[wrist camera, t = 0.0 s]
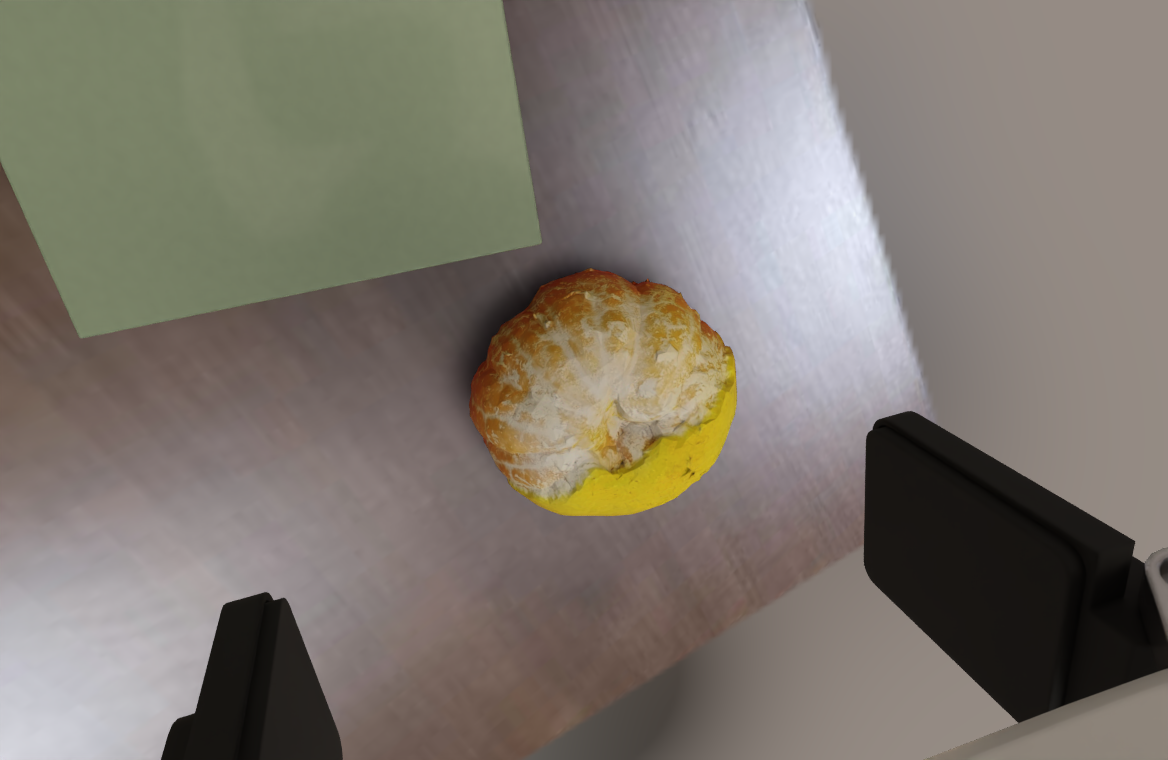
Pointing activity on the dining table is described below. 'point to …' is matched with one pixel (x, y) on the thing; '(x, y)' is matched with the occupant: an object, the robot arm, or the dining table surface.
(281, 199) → the cabinet
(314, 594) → the dining table surface
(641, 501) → the fruit
